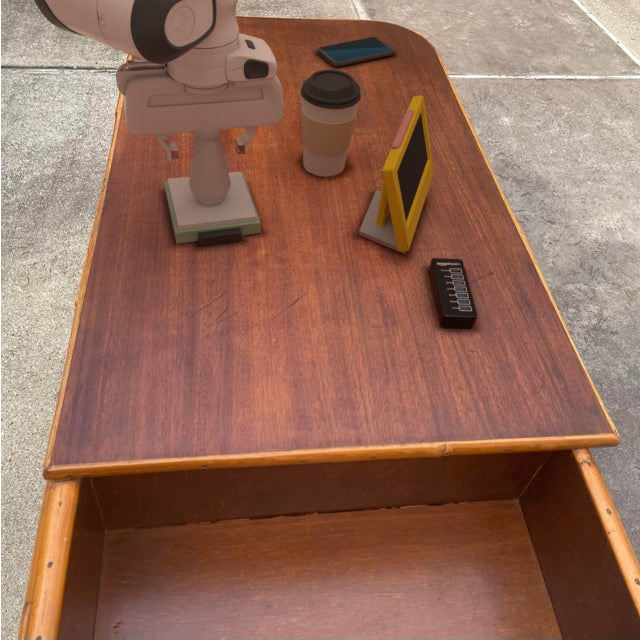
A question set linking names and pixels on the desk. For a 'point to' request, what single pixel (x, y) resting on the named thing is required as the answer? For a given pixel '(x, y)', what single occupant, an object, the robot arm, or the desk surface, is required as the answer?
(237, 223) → the scale
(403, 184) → the toy computer monitor
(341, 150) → the coffee cup
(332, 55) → the smartphone
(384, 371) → the desk surface
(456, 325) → the multiport hub
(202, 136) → the salt shaker
